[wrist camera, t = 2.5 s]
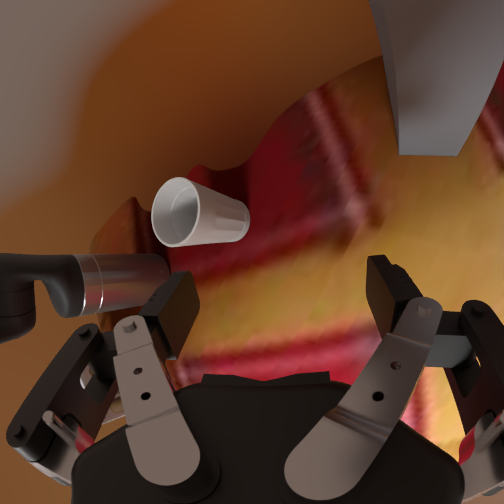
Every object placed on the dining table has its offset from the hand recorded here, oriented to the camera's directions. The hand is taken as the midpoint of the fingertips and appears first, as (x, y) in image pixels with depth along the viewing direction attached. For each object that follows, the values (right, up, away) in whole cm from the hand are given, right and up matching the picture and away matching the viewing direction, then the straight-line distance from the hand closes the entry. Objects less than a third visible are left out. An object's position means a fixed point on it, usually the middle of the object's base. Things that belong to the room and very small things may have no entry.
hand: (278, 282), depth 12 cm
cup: (-4, +6, +29) cm, 30 cm away
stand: (+20, +18, +14) cm, 31 cm away
